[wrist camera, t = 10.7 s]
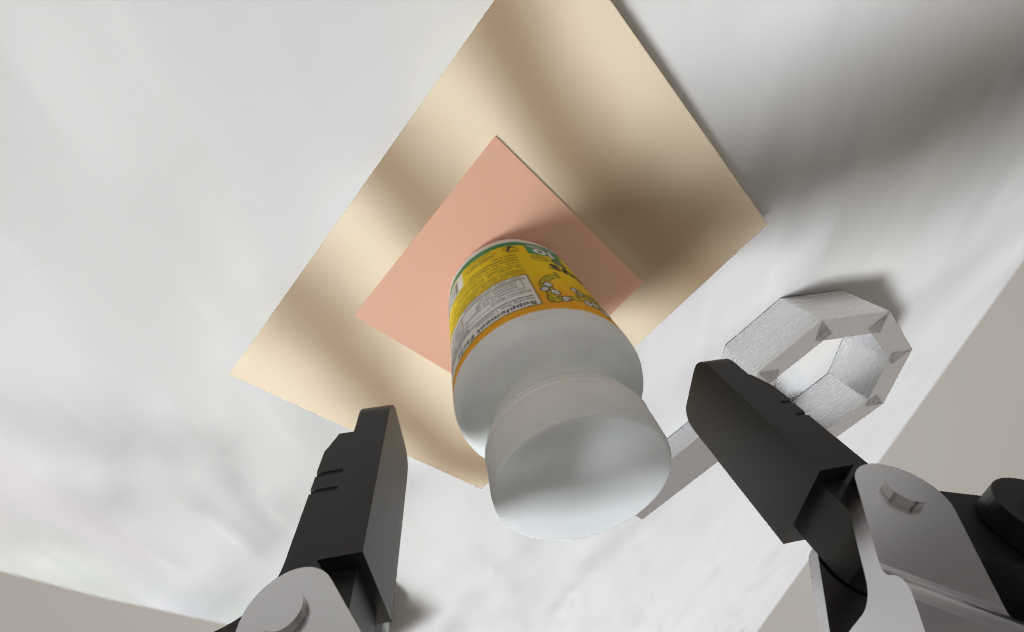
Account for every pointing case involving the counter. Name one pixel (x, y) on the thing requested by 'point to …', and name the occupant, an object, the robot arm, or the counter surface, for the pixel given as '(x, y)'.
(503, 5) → the birch board
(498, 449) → the supplement bottle
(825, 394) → the ring
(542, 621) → the counter surface
